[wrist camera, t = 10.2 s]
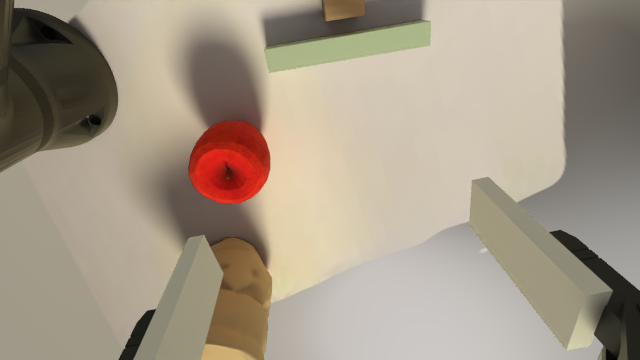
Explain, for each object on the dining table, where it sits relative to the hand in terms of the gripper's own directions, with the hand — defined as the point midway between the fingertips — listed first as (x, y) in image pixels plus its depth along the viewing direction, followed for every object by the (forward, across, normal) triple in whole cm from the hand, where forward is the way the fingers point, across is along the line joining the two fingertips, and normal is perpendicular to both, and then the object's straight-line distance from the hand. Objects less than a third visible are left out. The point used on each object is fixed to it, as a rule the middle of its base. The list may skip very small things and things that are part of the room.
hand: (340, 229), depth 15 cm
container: (+27, -19, -26) cm, 42 cm away
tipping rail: (+27, +5, +5) cm, 28 cm away
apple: (+28, -11, -4) cm, 30 cm away
